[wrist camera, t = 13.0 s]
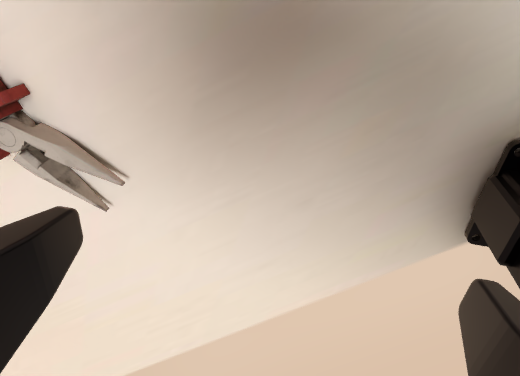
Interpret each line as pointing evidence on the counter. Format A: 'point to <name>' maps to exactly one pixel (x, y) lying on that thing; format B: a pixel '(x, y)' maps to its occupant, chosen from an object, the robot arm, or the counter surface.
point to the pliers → (47, 149)
